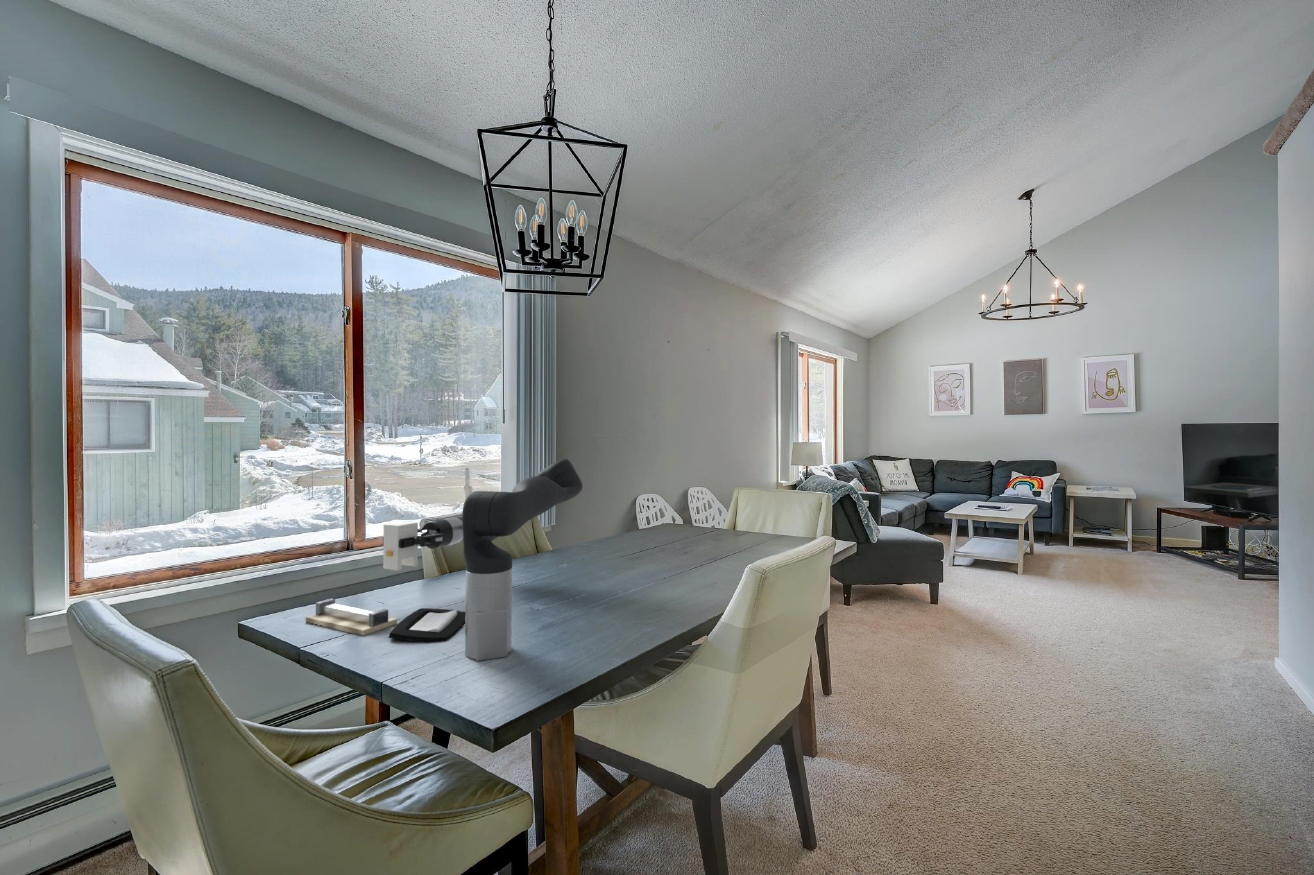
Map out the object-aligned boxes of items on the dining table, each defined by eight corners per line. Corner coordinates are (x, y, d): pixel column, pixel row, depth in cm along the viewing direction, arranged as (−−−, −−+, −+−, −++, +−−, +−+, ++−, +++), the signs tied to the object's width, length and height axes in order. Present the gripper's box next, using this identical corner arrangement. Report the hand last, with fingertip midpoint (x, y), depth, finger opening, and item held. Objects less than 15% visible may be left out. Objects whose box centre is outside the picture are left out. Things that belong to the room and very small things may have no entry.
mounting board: (397, 623, 136) (397, 618, 136) (363, 635, 128) (363, 630, 128) (340, 611, 144) (340, 607, 144) (305, 622, 136) (305, 617, 136)
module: (417, 565, 147) (417, 522, 147) (395, 571, 141) (395, 526, 141) (403, 563, 149) (403, 521, 149) (381, 569, 143) (381, 524, 143)
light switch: (449, 635, 124) (383, 629, 124) (447, 648, 124) (382, 643, 124) (475, 607, 144) (418, 602, 143) (473, 619, 144) (417, 614, 143)
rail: (388, 621, 134) (388, 609, 134) (373, 627, 130) (373, 614, 130) (331, 609, 142) (331, 598, 142) (315, 614, 138) (315, 602, 138)
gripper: (463, 548, 155) (412, 561, 139) (424, 543, 161) (371, 555, 146) (463, 520, 155) (412, 530, 139) (424, 517, 161) (371, 525, 146)
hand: (391, 542), depth 143 cm, fingers closed on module, 5 cm apart
